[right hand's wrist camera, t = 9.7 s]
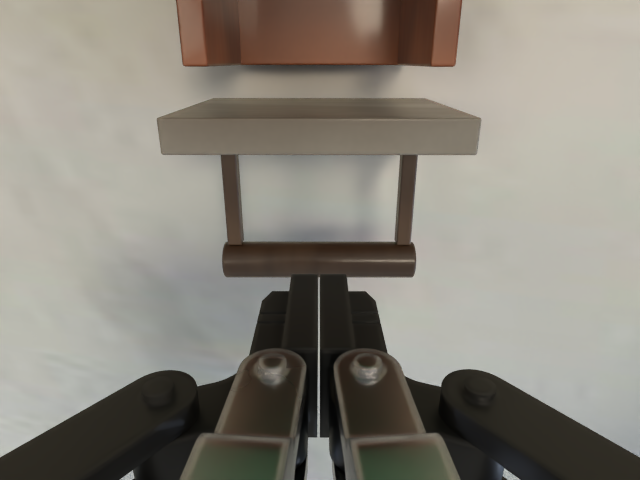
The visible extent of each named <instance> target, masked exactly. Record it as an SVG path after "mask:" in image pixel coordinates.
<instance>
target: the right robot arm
mask: <svg viewBox="0 0 640 480" xmlns="http://www.w3.org/2000/svg"><path fill="white" fill-rule="evenodd" d="M317 383H318V274H292V275H291V282H290V290H289V291H272V292H271V293H270V294H269V295H268V296H267V297H266V298H265V299H264V300H263V301H262V304H261V308H260V314H259V316H258V321H257V325H256V329H255V333H254V337H253V341H252V345H251V350H250V354H249V356H248V357H247V358H245V359H244V360H243V361H242V363H241V364H240V366H239V368H238V371H237V373H236V374H234V375H233V376H231V377H229V378H227V379H225V380H222V381H219V382H215V383H211V384H206V385H202V386H197V384H196V381H195V380H194V379H193V377H191V376H190V375H189V374H187V373H184V372H181V371H175V370H167V371H159V372H155V373H151V374H148V375H146V376H144V377H142V378H140V379H138V380H136V381H134V382H132V383H131V384H129V385H127V386H125V387H124V388H122V389H120V390H118V391H117V392H115V393H113V394H111V395H110V396H108V397H106V398H104V399H102V400H101V401H99V402H97V403H95V404H94V405H92V406H90V407H88V408H87V409H85V410H83V411H81V412H80V413H78V414H76V415H74V416H73V417H71V418H69V419H67V420H65V421H64V422H62V423H60V424H58V425H57V426H55V427H53V428H51V429H50V430H48V431H46V432H44V433H43V434H41V435H39V436H37V437H36V438H34V439H32V440H30V441H28V442H27V443H25V444H23V445H21V446H20V447H18V448H16V449H14V450H13V451H11V452H9V453H7V454H6V455H4V456H2V457H0V480H119V479H121V478H122V477H124V476H125V475H126V474H128V473H129V472H131V471H132V470H133V473H134V477H135V478H134V479H133V480H307V471H308V455H307V449H308V437H317ZM320 437H329V450H330V456H331V458H332V471H333V480H507V479H506V478H504V477H503V471H504V468H505V469H507V470H508V471H509V472H511V473H512V474H514V475H515V476H516V477H518V478H519V479H521V480H640V457H638V456H636V455H634V454H633V453H631V452H629V451H627V450H626V449H624V448H622V447H620V446H619V445H617V444H615V443H613V442H612V441H610V440H608V439H606V438H604V437H603V436H601V435H599V434H597V433H596V432H594V431H592V430H590V429H589V428H587V427H585V426H583V425H582V424H580V423H578V422H576V421H575V420H573V419H571V418H569V417H567V416H566V415H564V414H562V413H560V412H559V411H557V410H555V409H553V408H552V407H550V406H548V405H546V404H545V403H543V402H541V401H539V400H538V399H536V398H534V397H532V396H530V395H529V394H527V393H525V392H523V391H522V390H520V389H518V388H516V387H515V386H513V385H511V384H509V383H508V382H506V381H504V380H502V379H501V378H499V377H497V376H495V375H492V374H490V373H487V372H483V371H479V370H471V369H465V370H458V371H454V372H452V373H450V374H448V375H447V376H446V377H445V378H444V379H443V381H442V385H441V387H439V386H434V385H430V384H425V383H421V382H417V381H414V380H412V379H409V378H407V377H405V376H404V374H403V371H402V368H401V366H400V364H399V363H398V361H397V360H396V359H395V358H393V357H392V356H391V355H389V354H388V353H387V349H386V345H385V340H384V336H383V332H382V327H381V324H380V319H379V314H378V310H377V306H376V302H375V300H374V299H373V298H372V297H371V296H370V295H369V294H368V293H367V292H366V291H348V285H347V277H346V274H320Z"/></svg>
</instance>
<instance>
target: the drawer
mask: <svg viewBox="0 0 640 480" xmlns="http://www.w3.org/2000/svg"><path fill="white" fill-rule="evenodd" d="M176 4H177V14H178V24H179V33H180V43H181V52H182V62H183V65H184V66H226V65H410V66H429V67H453V66H455V64H456V55H457V45H458V35H459V26H460V16H461V7H462V0H176ZM157 124H158V132H159V139H160V147H161V153H162V154H163V155H221V164H222V176H223V188H224V201H225V213H226V225H227V238H228V242H226V243H225V245H224V248H223V255H222V265H223V272H224V275H225V276H226V277H291V275H292V274H318V277H320V274H346V277H413V276H414V273H415V269H416V251H415V246H414V244H413V242H411V231H412V219H413V206H414V194H415V182H416V170H417V158H418V155H476V154H477V149H478V141H479V134H480V126H481V118H479V117H476V116H473V115H470V114H467V113H465V112H462V111H459V110H456V109H453V108H451V107H448V106H445V105H442V104H439V103H437V102H434V101H431V100H428V99H425V98H213V99H210V100H207V101H204V102H202V103H199V104H196V105H193V106H190V107H187V108H185V109H182V110H179V111H176V112H173V113H170V114H167V115H165V116H162V117H159V118H157ZM238 155H400V167H399V182H398V197H397V211H396V226H395V242H243V240H244V234H243V219H242V204H241V189H240V174H239V159H238Z"/></svg>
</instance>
